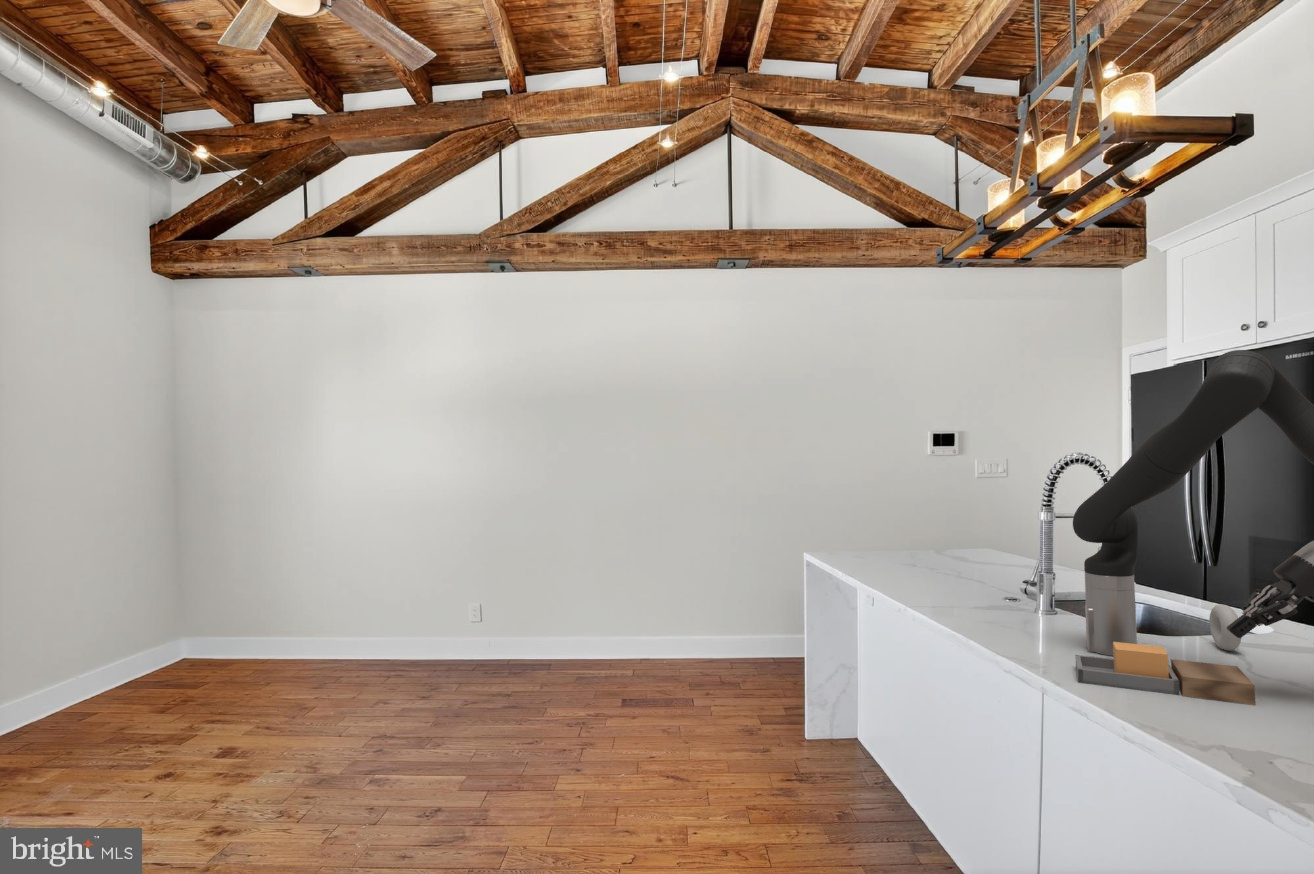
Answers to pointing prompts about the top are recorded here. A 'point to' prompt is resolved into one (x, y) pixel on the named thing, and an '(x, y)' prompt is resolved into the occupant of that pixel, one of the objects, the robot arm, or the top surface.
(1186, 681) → the walnut board
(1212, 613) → the donut
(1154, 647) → the orange block
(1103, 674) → the tray
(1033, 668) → the top surface
